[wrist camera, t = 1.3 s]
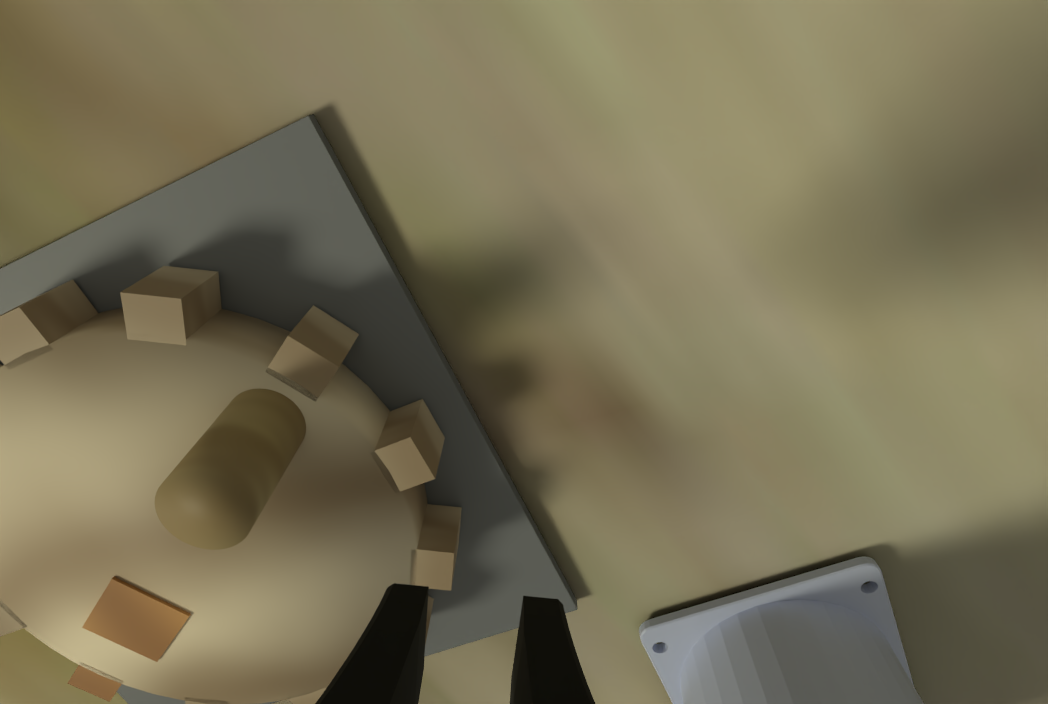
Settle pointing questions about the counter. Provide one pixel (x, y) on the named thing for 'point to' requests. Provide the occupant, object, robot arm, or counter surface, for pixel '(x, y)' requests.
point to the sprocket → (204, 493)
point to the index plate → (346, 295)
